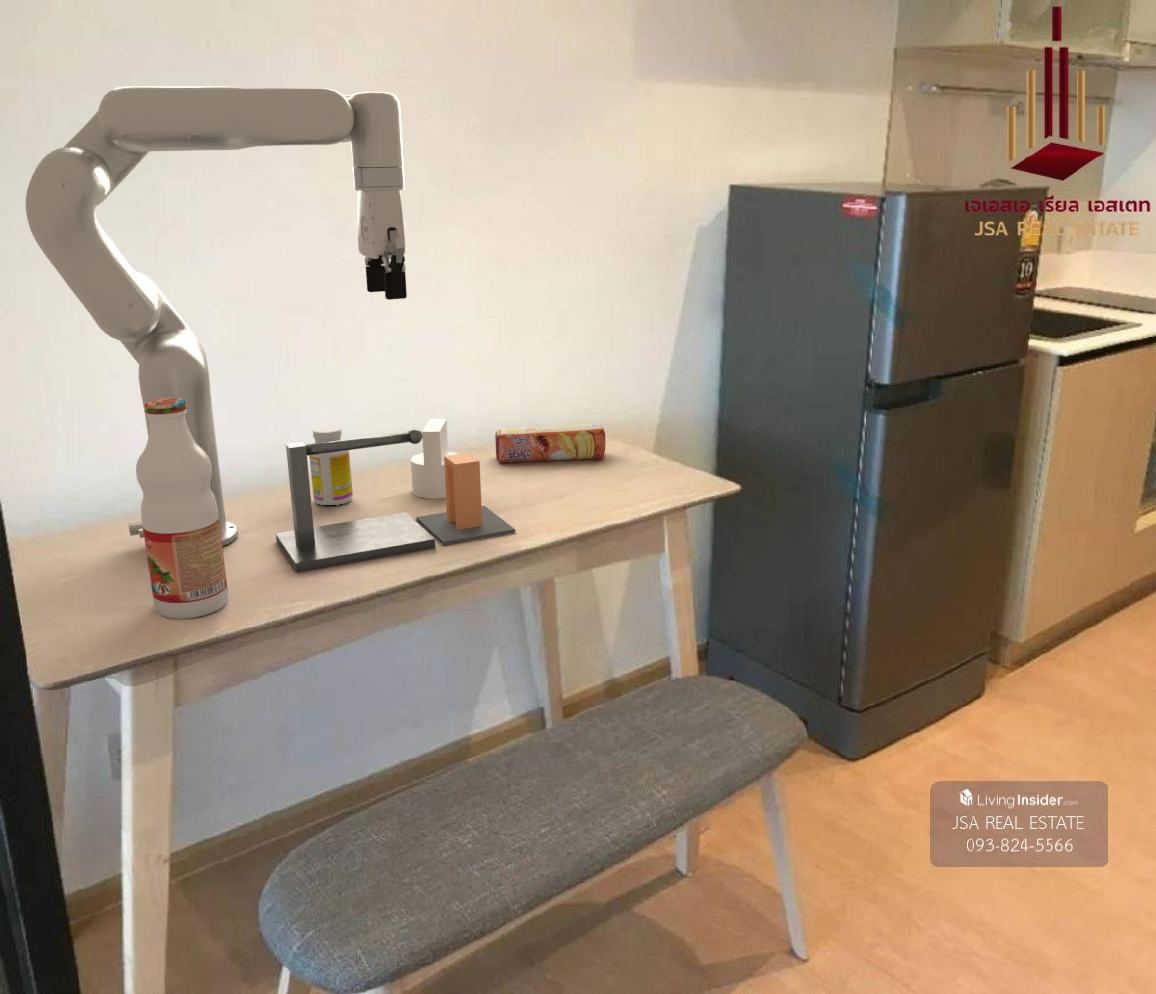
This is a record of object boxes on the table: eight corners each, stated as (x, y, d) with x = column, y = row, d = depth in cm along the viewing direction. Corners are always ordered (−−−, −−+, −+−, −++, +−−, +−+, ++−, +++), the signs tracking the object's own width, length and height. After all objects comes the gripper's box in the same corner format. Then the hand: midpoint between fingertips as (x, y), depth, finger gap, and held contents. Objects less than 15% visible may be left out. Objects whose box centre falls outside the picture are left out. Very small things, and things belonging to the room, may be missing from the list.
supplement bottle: (358, 495, 187) (352, 424, 183) (346, 507, 180) (340, 434, 176) (321, 494, 187) (314, 423, 183) (308, 506, 181) (301, 433, 177)
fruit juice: (220, 618, 138) (194, 409, 129) (146, 622, 137) (114, 411, 128) (235, 590, 147) (211, 392, 138) (165, 593, 146) (137, 394, 137)
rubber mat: (443, 545, 163) (443, 541, 163) (416, 520, 174) (416, 516, 174) (515, 532, 168) (515, 529, 168) (484, 509, 179) (484, 505, 179)
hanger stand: (296, 572, 153) (285, 458, 147) (276, 542, 165) (265, 435, 159) (442, 546, 162) (436, 438, 157) (413, 519, 174) (407, 417, 169)
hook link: (458, 529, 168) (455, 464, 164) (447, 520, 172) (443, 456, 169) (482, 525, 169) (479, 460, 166) (470, 516, 174) (467, 452, 170)
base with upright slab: (460, 498, 184) (456, 431, 181) (408, 498, 185) (404, 431, 181) (466, 483, 193) (463, 418, 189) (417, 483, 193) (413, 419, 189)
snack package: (496, 466, 204) (495, 432, 202) (495, 456, 210) (494, 423, 208) (606, 462, 206) (606, 428, 203) (602, 452, 212) (602, 419, 210)
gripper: (339, 179, 165) (348, 290, 170) (371, 182, 150) (379, 303, 156) (386, 178, 168) (393, 287, 174) (421, 181, 154) (428, 300, 159)
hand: (386, 295), depth 165 cm, fingers open, 9 cm apart
